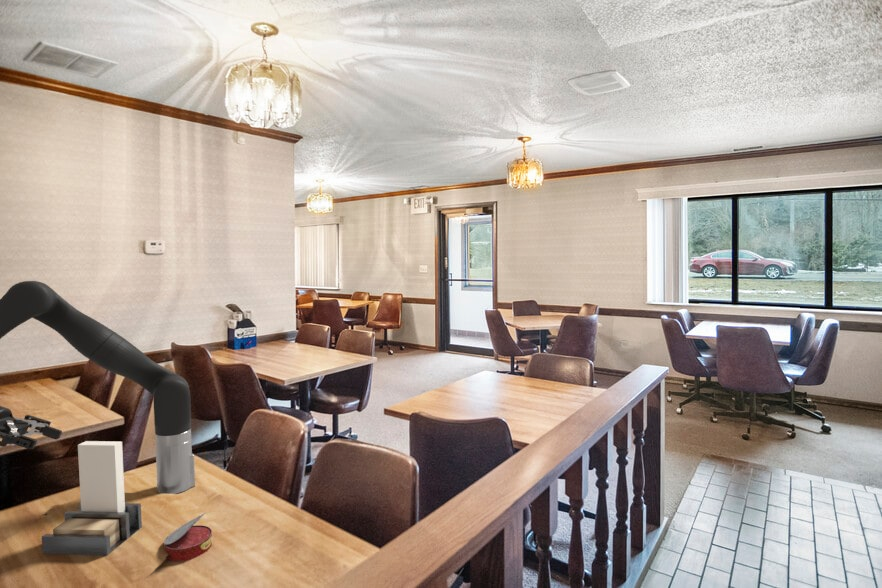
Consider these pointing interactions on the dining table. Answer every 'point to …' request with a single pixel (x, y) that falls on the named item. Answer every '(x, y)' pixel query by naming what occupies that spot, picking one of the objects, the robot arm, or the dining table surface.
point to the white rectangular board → (101, 476)
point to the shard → (52, 509)
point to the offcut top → (87, 527)
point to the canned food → (188, 541)
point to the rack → (94, 543)
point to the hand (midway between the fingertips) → (47, 440)
